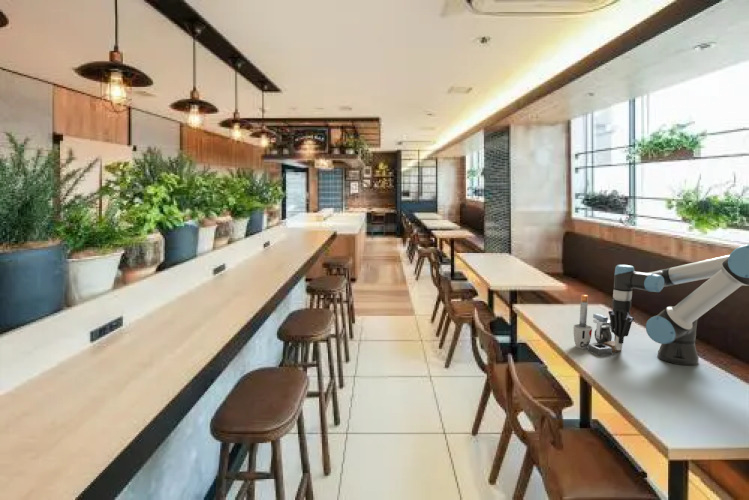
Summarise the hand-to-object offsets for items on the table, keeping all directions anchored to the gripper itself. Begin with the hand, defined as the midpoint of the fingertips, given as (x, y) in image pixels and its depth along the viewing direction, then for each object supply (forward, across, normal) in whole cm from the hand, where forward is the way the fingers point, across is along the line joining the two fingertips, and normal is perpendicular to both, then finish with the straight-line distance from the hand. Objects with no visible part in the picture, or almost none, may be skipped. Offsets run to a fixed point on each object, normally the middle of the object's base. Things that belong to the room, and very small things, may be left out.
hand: (618, 349), depth 216 cm
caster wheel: (+2, +12, -2) cm, 13 cm away
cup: (+2, +11, +11) cm, 15 cm away
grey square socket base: (+2, +2, +8) cm, 8 cm away
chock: (+2, +4, 0) cm, 4 cm away
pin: (-8, +11, +11) cm, 18 cm away
